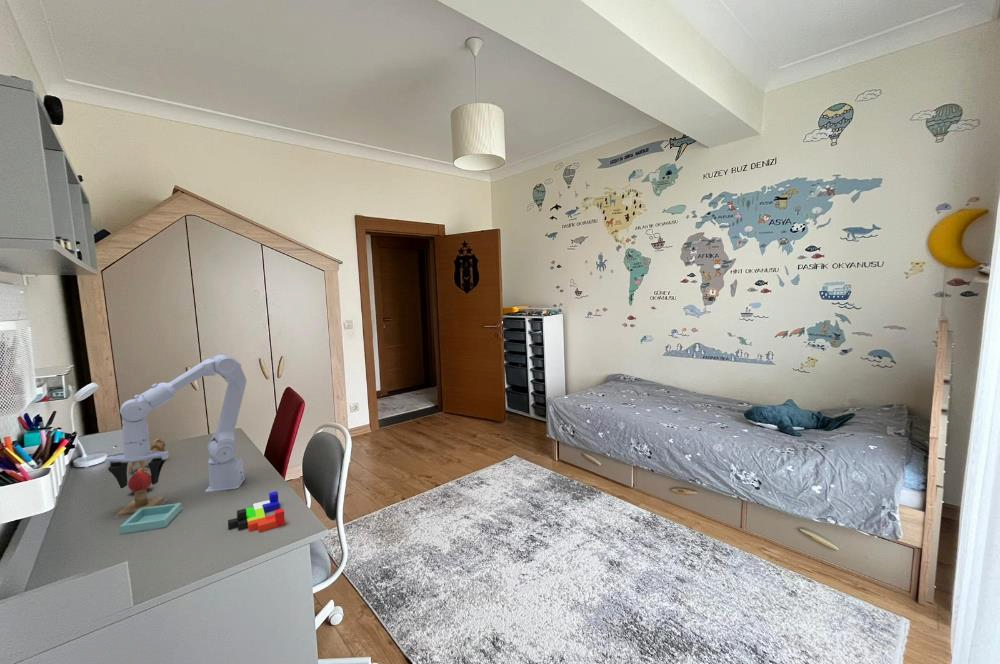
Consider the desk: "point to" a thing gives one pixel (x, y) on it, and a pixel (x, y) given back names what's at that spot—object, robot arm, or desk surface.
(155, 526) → the dish
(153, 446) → the lion figurine
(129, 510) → the lid
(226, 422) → the robot arm
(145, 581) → the desk surface
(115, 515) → the mat
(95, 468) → the desk surface
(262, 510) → the building blocks
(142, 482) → the pomegranate
